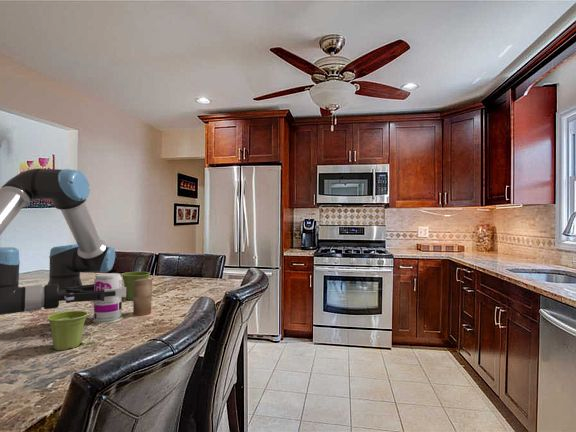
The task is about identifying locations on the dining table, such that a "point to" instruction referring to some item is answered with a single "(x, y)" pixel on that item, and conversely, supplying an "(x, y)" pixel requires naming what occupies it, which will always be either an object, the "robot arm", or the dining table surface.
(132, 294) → the plant pot
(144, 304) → the walnut canister
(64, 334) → the plant pot
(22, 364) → the dining table surface
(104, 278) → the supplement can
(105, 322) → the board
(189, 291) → the dining table surface
